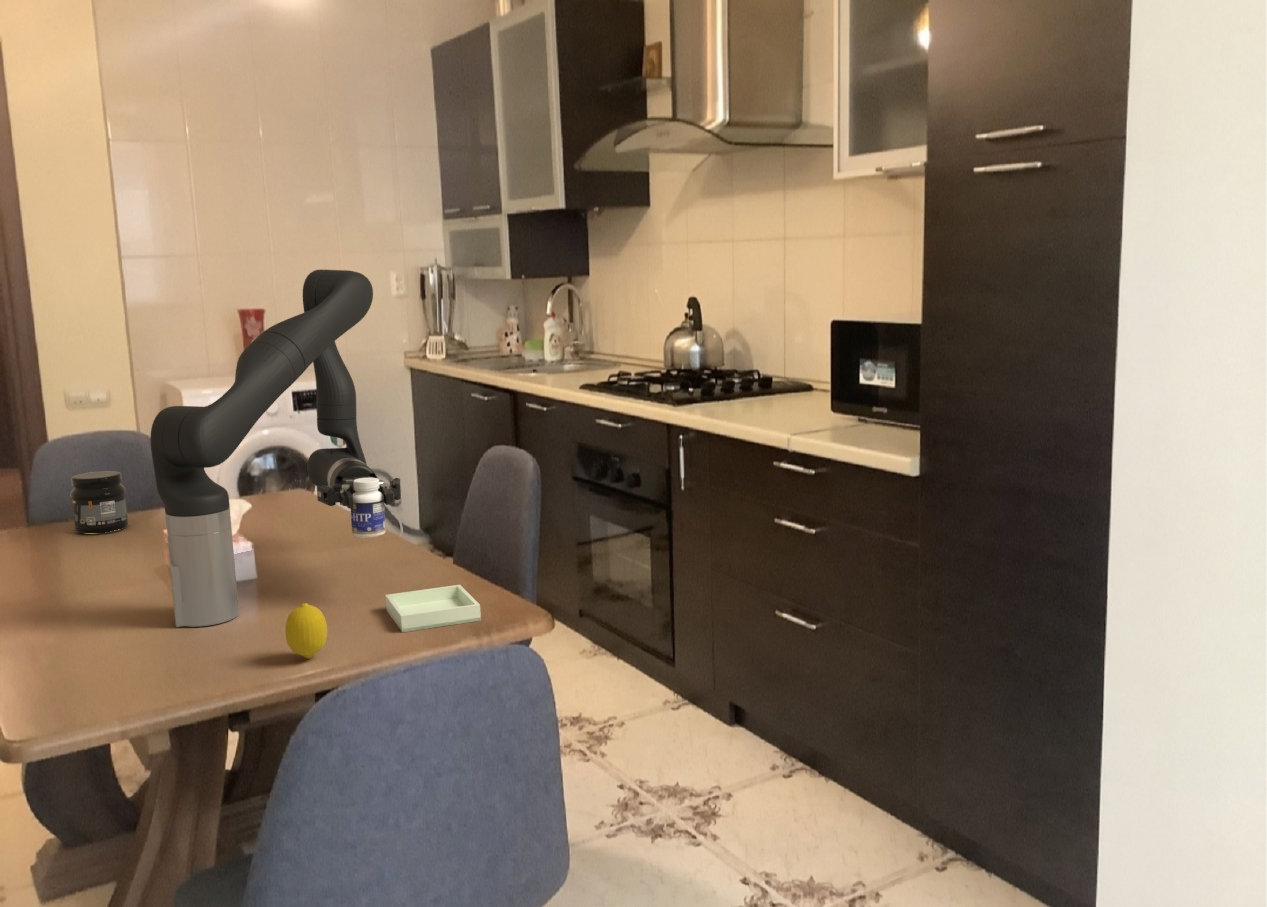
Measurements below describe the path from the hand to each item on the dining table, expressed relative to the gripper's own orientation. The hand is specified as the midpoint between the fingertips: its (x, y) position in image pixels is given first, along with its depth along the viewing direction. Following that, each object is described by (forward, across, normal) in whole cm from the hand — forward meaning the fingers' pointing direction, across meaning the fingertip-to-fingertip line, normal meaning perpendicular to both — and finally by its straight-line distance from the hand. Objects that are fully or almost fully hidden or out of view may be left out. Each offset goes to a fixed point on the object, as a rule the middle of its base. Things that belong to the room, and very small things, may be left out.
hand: (370, 500), depth 167 cm
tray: (+8, +7, +17) cm, 21 cm away
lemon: (+19, -13, +18) cm, 29 cm away
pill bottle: (-3, 0, +6) cm, 7 cm away
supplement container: (-83, -43, +18) cm, 95 cm away
